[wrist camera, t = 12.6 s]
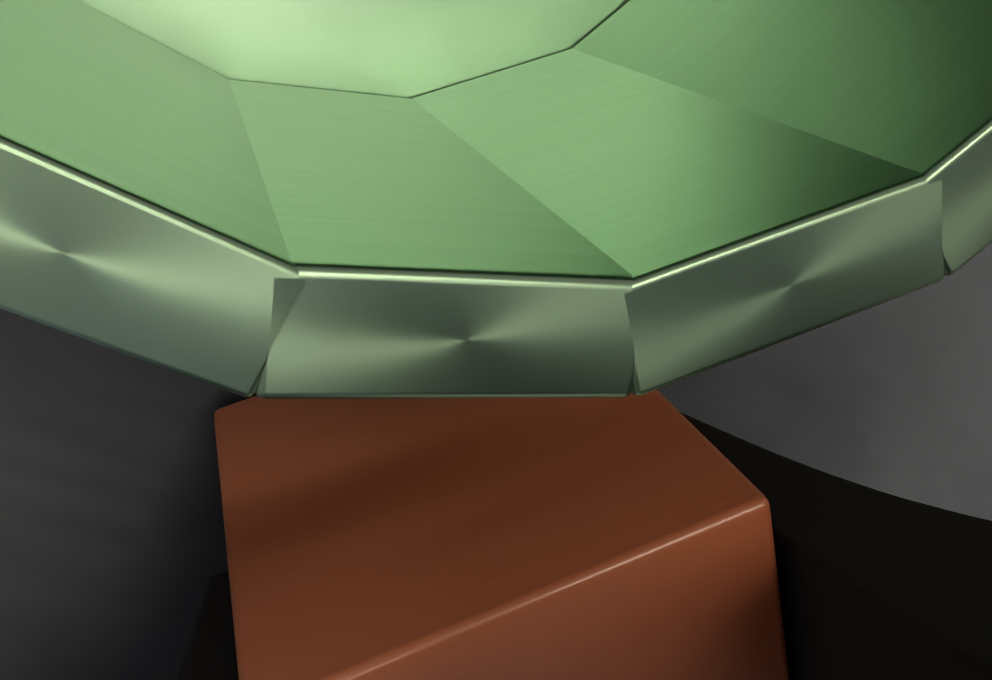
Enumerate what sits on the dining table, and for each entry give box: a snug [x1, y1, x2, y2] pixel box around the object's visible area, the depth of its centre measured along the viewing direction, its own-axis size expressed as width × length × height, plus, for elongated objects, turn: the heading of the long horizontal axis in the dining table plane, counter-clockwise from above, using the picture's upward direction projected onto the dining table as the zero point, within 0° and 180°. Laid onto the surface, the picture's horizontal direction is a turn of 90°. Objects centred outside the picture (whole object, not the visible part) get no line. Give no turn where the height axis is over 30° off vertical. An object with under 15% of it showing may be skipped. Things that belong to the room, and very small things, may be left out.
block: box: [214, 390, 789, 680], centre depth 11 cm, size 4×4×5 cm
